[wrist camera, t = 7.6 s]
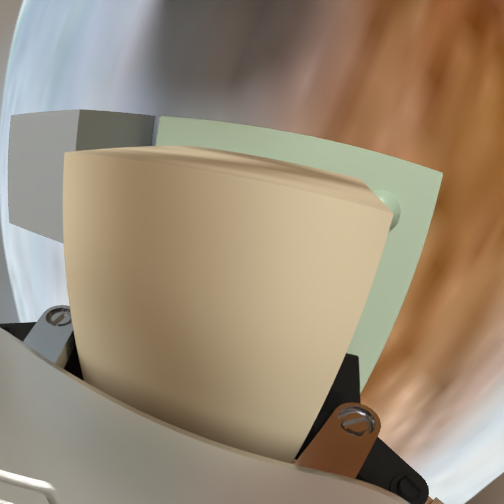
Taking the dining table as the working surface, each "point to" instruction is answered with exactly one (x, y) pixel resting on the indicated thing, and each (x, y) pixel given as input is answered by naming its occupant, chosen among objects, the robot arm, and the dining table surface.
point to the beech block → (217, 285)
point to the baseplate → (355, 165)
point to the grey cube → (59, 158)
